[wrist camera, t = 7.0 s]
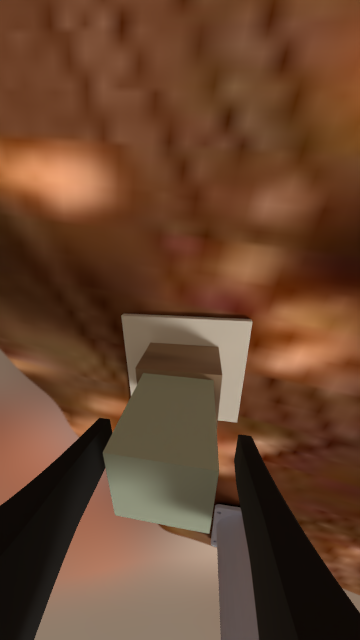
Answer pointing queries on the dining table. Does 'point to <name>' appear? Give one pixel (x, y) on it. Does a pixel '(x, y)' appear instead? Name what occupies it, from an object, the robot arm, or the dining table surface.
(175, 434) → the sage block
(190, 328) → the stone tile
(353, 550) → the dining table surface
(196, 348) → the walnut block
